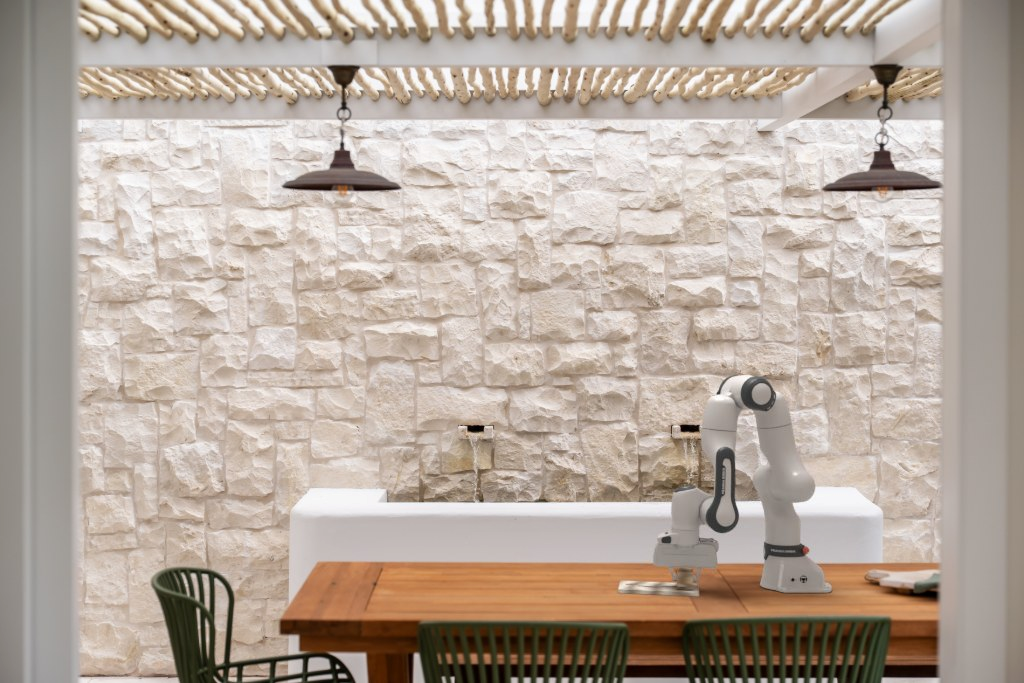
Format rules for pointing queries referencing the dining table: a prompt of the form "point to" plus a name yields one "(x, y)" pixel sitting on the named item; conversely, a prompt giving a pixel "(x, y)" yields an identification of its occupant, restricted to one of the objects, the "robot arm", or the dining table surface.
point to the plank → (655, 588)
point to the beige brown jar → (685, 578)
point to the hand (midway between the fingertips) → (685, 581)
